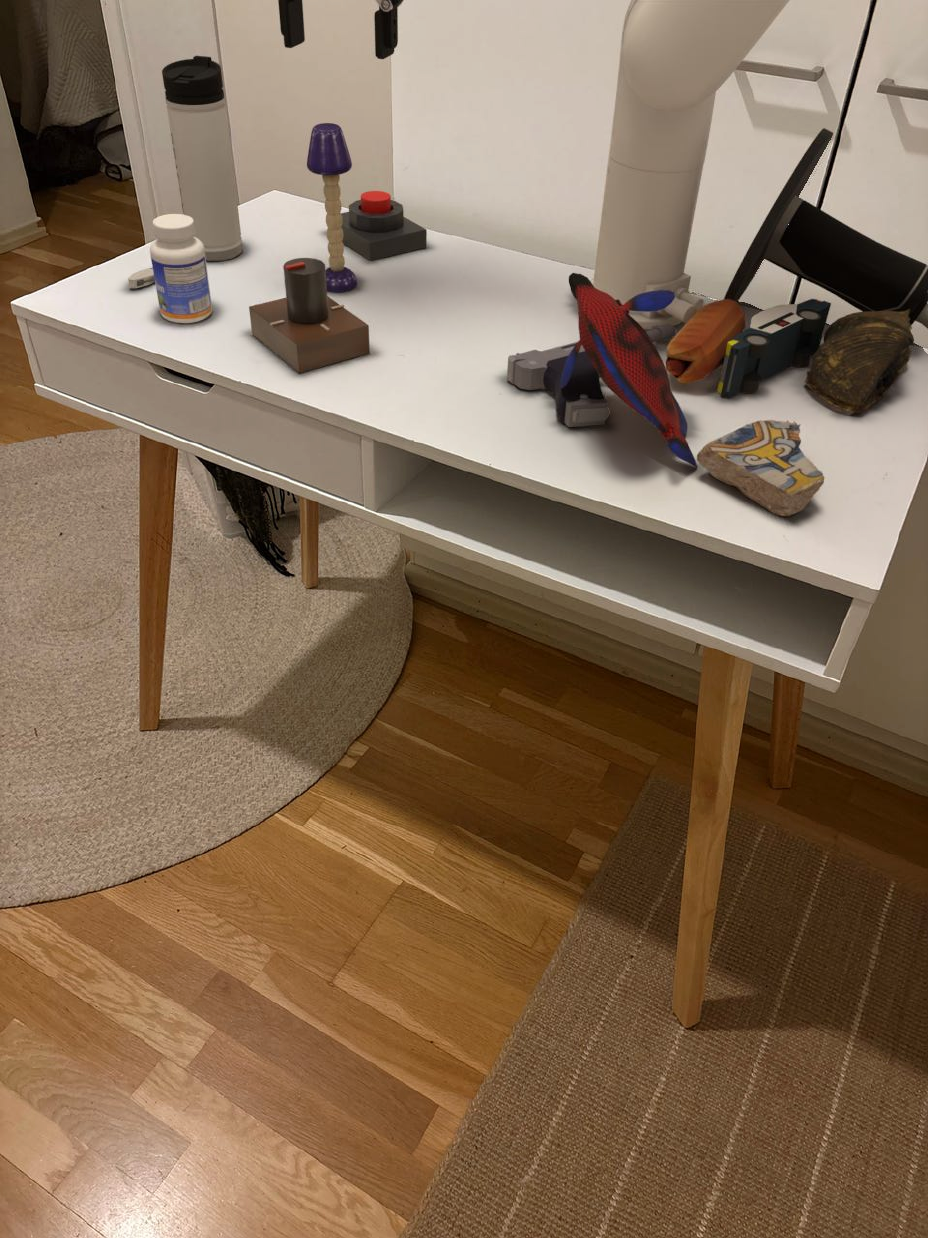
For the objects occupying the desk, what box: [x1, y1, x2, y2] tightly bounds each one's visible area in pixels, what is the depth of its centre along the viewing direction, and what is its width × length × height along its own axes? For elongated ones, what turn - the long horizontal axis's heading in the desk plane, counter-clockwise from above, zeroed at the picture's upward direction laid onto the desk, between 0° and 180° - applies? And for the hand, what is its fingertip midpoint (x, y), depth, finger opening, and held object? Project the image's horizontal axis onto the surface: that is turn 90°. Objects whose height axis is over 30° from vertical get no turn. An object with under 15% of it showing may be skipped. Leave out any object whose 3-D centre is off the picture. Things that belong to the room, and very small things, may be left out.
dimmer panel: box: [248, 295, 371, 374], centre depth 100 cm, size 10×8×3 cm
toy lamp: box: [306, 122, 358, 293], centre depth 106 cm, size 5×5×17 cm
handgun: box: [506, 324, 677, 428], centre depth 96 cm, size 3×20×12 cm
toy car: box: [716, 298, 832, 399], centre depth 98 cm, size 5×16×5 cm
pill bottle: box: [149, 213, 213, 324], centre depth 102 cm, size 5×5×10 cm
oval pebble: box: [127, 267, 155, 289], centre depth 111 cm, size 6×2×1 cm, turn 152°
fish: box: [560, 272, 698, 468], centre depth 87 cm, size 20×12×15 cm
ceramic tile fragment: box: [696, 419, 825, 517], centre depth 83 cm, size 12×3×10 cm
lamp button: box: [360, 190, 392, 214], centre depth 119 cm, size 4×4×2 cm
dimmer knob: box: [282, 257, 328, 324], centre depth 97 cm, size 4×4×5 cm
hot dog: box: [665, 298, 746, 384], centre depth 98 cm, size 5×13×5 cm
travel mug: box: [161, 55, 244, 262], centre depth 112 cm, size 6×7×20 cm
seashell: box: [803, 309, 915, 414], centre depth 97 cm, size 16×9×7 cm, turn 148°
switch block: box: [340, 199, 428, 261], centre depth 121 cm, size 10×8×4 cm
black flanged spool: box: [723, 127, 928, 330], centre depth 103 cm, size 19×19×25 cm
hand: (339, 50), depth 97 cm, fingers open, 9 cm apart
